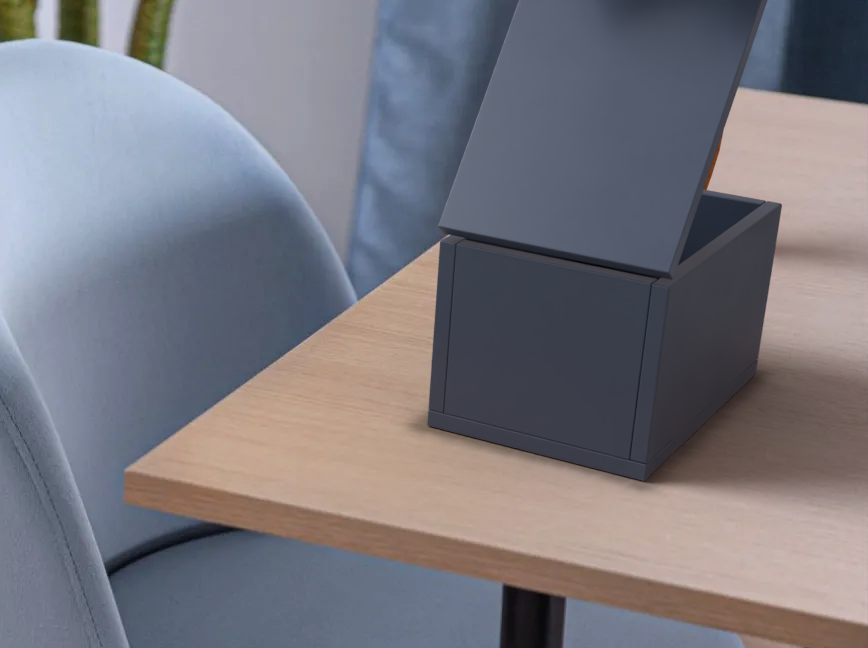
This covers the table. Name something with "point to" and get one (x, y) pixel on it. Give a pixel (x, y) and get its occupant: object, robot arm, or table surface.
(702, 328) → the chest
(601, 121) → the lid
